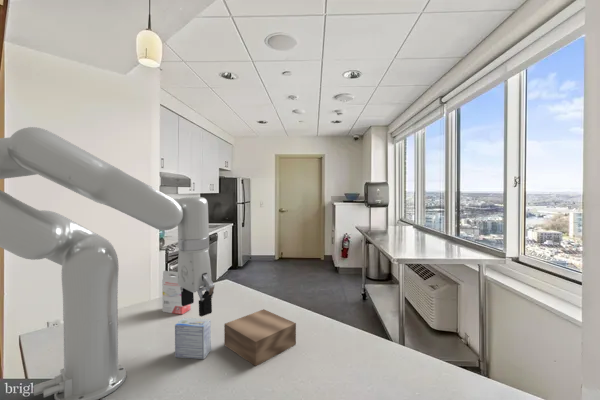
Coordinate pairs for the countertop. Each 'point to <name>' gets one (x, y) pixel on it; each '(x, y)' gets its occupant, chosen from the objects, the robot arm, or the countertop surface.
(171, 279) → the ink cartridge box
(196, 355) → the medicine box
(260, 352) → the block
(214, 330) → the countertop surface
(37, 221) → the robot arm
